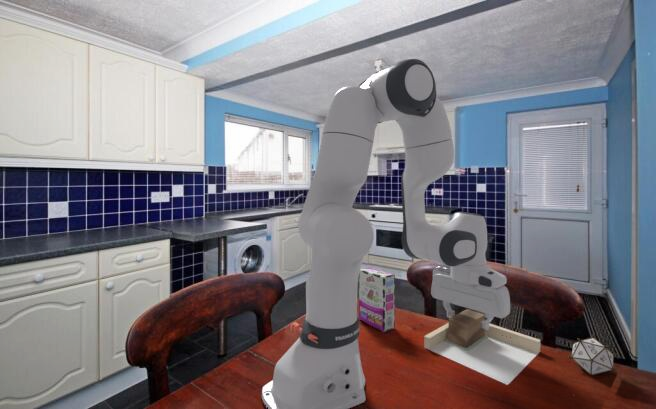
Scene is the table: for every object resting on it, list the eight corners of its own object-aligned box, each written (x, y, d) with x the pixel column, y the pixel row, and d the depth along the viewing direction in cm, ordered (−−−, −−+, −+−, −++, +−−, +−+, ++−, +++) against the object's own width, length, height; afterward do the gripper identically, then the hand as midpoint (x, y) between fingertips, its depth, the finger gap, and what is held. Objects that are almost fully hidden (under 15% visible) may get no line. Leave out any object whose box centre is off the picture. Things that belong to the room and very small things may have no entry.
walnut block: (484, 335, 87) (484, 314, 86) (466, 348, 80) (467, 325, 80) (466, 329, 90) (467, 308, 90) (448, 340, 84) (448, 318, 84)
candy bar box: (395, 328, 94) (396, 274, 93) (384, 333, 91) (384, 277, 90) (369, 315, 103) (369, 266, 102) (358, 319, 100) (358, 269, 99)
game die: (602, 393, 70) (638, 374, 63) (562, 375, 71) (593, 355, 65) (590, 356, 77) (622, 335, 70) (554, 341, 78) (582, 319, 72)
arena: (507, 388, 66) (508, 371, 66) (424, 350, 81) (424, 336, 81) (540, 354, 79) (540, 339, 78) (462, 327, 94) (462, 314, 94)
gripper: (427, 266, 90) (426, 313, 91) (503, 283, 74) (501, 340, 75) (439, 263, 94) (438, 308, 95) (513, 278, 78) (512, 332, 79)
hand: (466, 322), depth 85 cm, fingers open, 8 cm apart
